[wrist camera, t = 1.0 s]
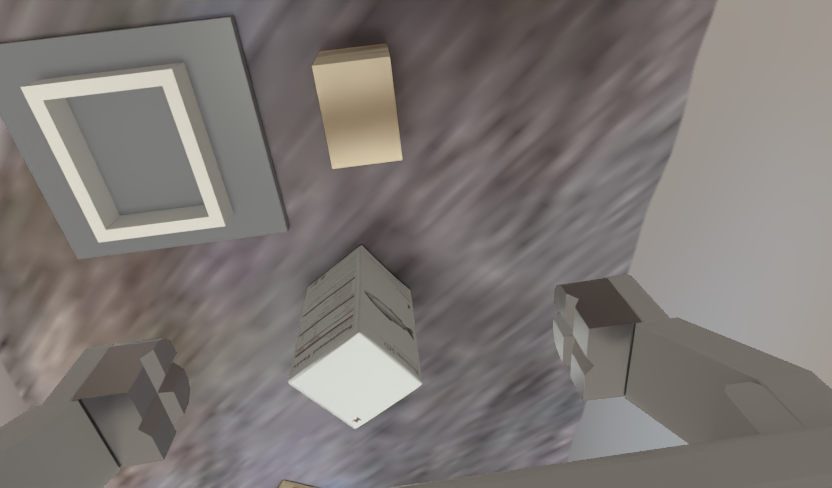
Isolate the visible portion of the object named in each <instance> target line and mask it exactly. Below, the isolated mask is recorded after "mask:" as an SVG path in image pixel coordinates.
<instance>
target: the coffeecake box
mask: <svg viewBox="0 0 832 488" xmlns="http://www.w3.org/2000/svg"><path fill="white" fill-rule="evenodd" d="M278 488H318V487H312V486H306V485H303V484H299V483H295V482H290V481H286V480H283V481H282V483H281V484H280V486H279V487H278Z"/></svg>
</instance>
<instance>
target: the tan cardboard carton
mask: <svg viewBox="0 0 832 488" xmlns="http://www.w3.org/2000/svg"><path fill="white" fill-rule="evenodd" d="M312 69H313V74H314V79H315V84H316V89H317V94H318V99H319V104H320V109H321V114H322V119H323V124H324V129H325V134H326V139H327V144H328V149H329V154H330V159H331V164H332V169H336V168H344V167H352V166H360V165H368V164H376V163H384V162H392V161H400V160H402V152H401V143H400V135H399V127H398V119H397V110H396V102H395V94H394V85H393V77H392V69H391V60H390V54H389V50H388V46H387V43H384V44H376V45H368V46H359V47H351V48H343V49H335V50H326V51H320V52H319V54H318V55H317V57H316V59H315V61H314V63H313V65H312Z"/></svg>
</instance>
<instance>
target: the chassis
mask: <svg viewBox="0 0 832 488" xmlns="http://www.w3.org/2000/svg"><path fill="white" fill-rule="evenodd" d="M0 116H1V118H2V119H3V121H4V123H5V125H6V127H7V129H8V130H9V132H10V134H11V136H12V138H13V140H14V142H15V143H16V145H17V147H18V149H19V151H20V153H21V155H22V156H23V158H24V160H25V162H26V164H27V166H28V168H29V169H30V171H31V173H32V175H33V177H34V179H35V181H36V182H37V184H38V186H39V188H40V190H41V192H42V194H43V195H44V197H45V199H46V201H47V203H48V205H49V207H50V208H51V210H52V212H53V214H54V216H55V218H56V219H57V221H58V223H59V225H60V227H61V229H62V231H63V232H64V234H65V236H66V238H67V240H68V242H69V244H70V245H71V247H72V249H73V251H74V253H75V255H76V257H77V258H78V259H85V258H92V257H100V256H108V255H115V254H123V253H131V252H139V251H146V250H154V249H162V248H169V247H177V246H185V245H192V244H200V243H208V242H215V241H223V240H231V239H239V238H246V237H254V236H262V235H269V234H277V233H285V232H288V230H289V223H288V219H287V216H286V212H285V208H284V204H283V201H282V197H281V193H280V189H279V185H278V182H277V178H276V174H275V170H274V167H273V163H272V159H271V155H270V152H269V148H268V144H267V140H266V137H265V133H264V129H263V125H262V121H261V118H260V114H259V110H258V106H257V103H256V99H255V95H254V91H253V88H252V84H251V80H250V76H249V73H248V69H247V65H246V61H245V57H244V54H243V50H242V46H241V42H240V39H239V35H238V31H237V27H236V24H235V20H234V16H227V17H219V18H210V19H202V20H194V21H185V22H177V23H168V24H160V25H151V26H143V27H135V28H126V29H118V30H109V31H101V32H92V33H84V34H75V35H67V36H59V37H50V38H42V39H33V40H25V41H16V42H8V43H0Z"/></svg>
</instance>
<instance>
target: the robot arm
mask: <svg viewBox="0 0 832 488" xmlns="http://www.w3.org/2000/svg"><path fill="white" fill-rule="evenodd" d="M554 302H555V304H556V306H557V308H558V309H559V312H558V313H557V315H556V316H555V317H554V318H553V333H554V339H555V344H556V347H557V350H558V353H559V355H560V357H561V359H562V361H563V362H564V363H566V364H568V365H569V366H571V375H570V377H571V379H572V381H573V383H574V385H575V387H576V389H577V391H578V392H579V394H580V396H581V398H582V400H583V401H587V400H596V399H603V398H604V399H605V398H612V397H622V396H625V398H626V399H627V400H628V401H630V402H631V403H633V404H634V405H635V406H637V407H638V408H640V409H641V410H642V411H644V412H645V413H647V414H648V415H649V416H651V417H652V418H654V419H655V420H656V421H658V422H659V423H661V424H662V425H663V426H665V427H666V428H668V429H669V430H670V431H672V432H673V433H675V434H676V435H678V436H679V437H680V438H682V439H683V440H685V441H686V442H687V443H689V444H688V445H681V446H675V447H667V448H661V449H654V450H647V451H640V452H634V453H627V454H620V455H613V456H606V457H600V458H593V459H587V460H580V461H572V462H566V463H559V464H552V465H545V466H538V467H531V468H524V469H517V470H510V471H502V472H495V473H488V474H481V475H474V476H467V477H460V478H453V479H446V480H439V481H432V482H425V483H418V484H411V485H404V486H398V487H391V488H832V389H831V388H829V386H827V385H826V384H825V383H824V382H823V381H821V379H819V378H818V377H817V376H816V375H815V374H814V373H813V372H811V371H809V370H807V369H804V368H802V367H799V366H797V365H794V364H792V363H789V362H787V361H784V360H782V359H779V358H777V357H774V356H772V355H769V354H767V353H764V352H762V351H760V350H757V349H755V348H752V347H750V346H747V345H745V344H742V343H739V342H737V341H735V340H732V339H730V338H727V337H725V336H722V335H720V334H717V333H715V332H712V331H710V330H707V329H705V328H702V327H700V326H697V325H695V324H692V323H690V322H687V321H685V320H683V319H680V318H669V316H668V315H667V314H666V313H665V312H664V311H663V310H662V309H661V308H660V307H659V306H658V305H657V304H656V303H655V301H654V300H653V299H652V298H651V297H650V296H649V295H648V294H647V292H646V291H645V290H644V289H643V288H642V287H641V286H640V285H639V284H638V283H637V282H636V280H635V279H634V278H633V277H632V276H630V275H628V274H623V275H617V276H611V277H605V278H603V279H596V280H589V281H582V282H575V283H569V284H562V285H556V289H555V293H554ZM176 354H177V352H176V350H175V348H174V346H173V344H172V342H171V341H170V340H168V339H166V338H159V339H150V340H141V341H133V342H124V343H117V344H108V345H100V346H93V347H91V348H88V349H86V350H85V351H84V352H83V353H82V355H81V356H80V357H79V358H78V360H77V361H76V362H75V364H74V365H73V366H72V367H71V369H70V370H69V371H68V372H67V374H66V375H65V376H64V377H63V379H62V380H61V381H60V383H59V384H58V385H57V386H56V388H55V389H54V390H53V391H52V393H51V394H50V395H49V396H48V398H47V399H46V400H45V402H44V403H43V404H42V405H40V406H33V407H32V408H30V409H29V410H27V411H25V412H24V413H22V414H21V415H19V416H18V417H16V418H14V419H13V420H11V421H10V422H8V423H7V424H5V425H3V426H2V427H0V488H103V487H104V486H105V485H106V484H107V483H108V482H109V481H110V480H111V479H112V478H113V477H114V476H115V475H116V474H117V473H118V472H119V471H120V468H121V467H127V466H133V465H139V464H145V463H151V462H157V461H163V460H164V459H165V457H166V455H167V452H168V450H169V448H170V446H171V443H172V441H173V439H174V436H175V434H176V430H175V428H174V426H173V424H174V423H175V422H176V421H177V420H178V419H179V418H180V417H182V416H183V415H184V413H185V411H186V408H187V406H188V403H189V394H190V387H189V381H188V377H187V375H186V373H185V370H184V369H183V368H181V367H180V366H178V365H177V364H175V363H174V362H173V361H174V359H175V356H176Z"/></svg>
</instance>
